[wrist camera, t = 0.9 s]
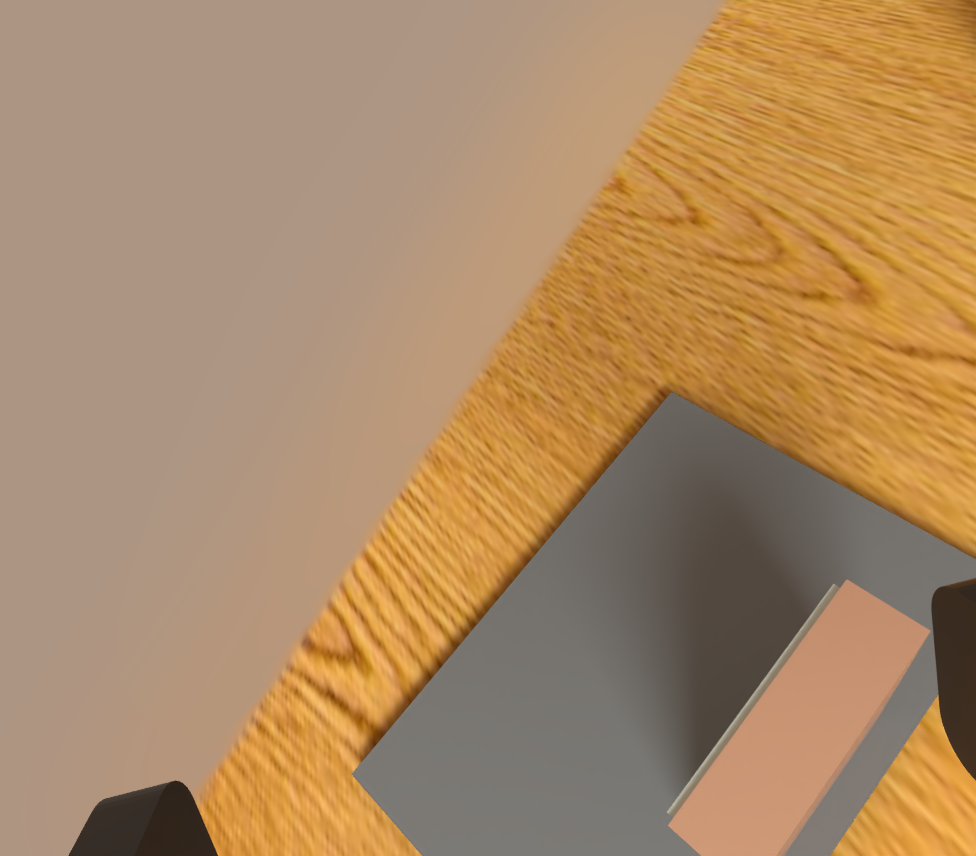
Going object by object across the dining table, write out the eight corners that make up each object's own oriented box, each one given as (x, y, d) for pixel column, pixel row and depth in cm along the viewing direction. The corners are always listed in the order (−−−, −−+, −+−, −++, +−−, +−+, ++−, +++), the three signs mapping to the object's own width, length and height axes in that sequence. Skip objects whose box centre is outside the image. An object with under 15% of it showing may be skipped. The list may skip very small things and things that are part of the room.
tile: (817, 673, 27) (839, 574, 19) (879, 716, 26) (930, 630, 18) (694, 845, 26) (660, 818, 18) (754, 898, 25) (747, 897, 16)
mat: (673, 403, 35) (671, 391, 34) (1007, 590, 28) (1014, 580, 27) (362, 777, 31) (351, 774, 30) (656, 1112, 24) (652, 1120, 23)
